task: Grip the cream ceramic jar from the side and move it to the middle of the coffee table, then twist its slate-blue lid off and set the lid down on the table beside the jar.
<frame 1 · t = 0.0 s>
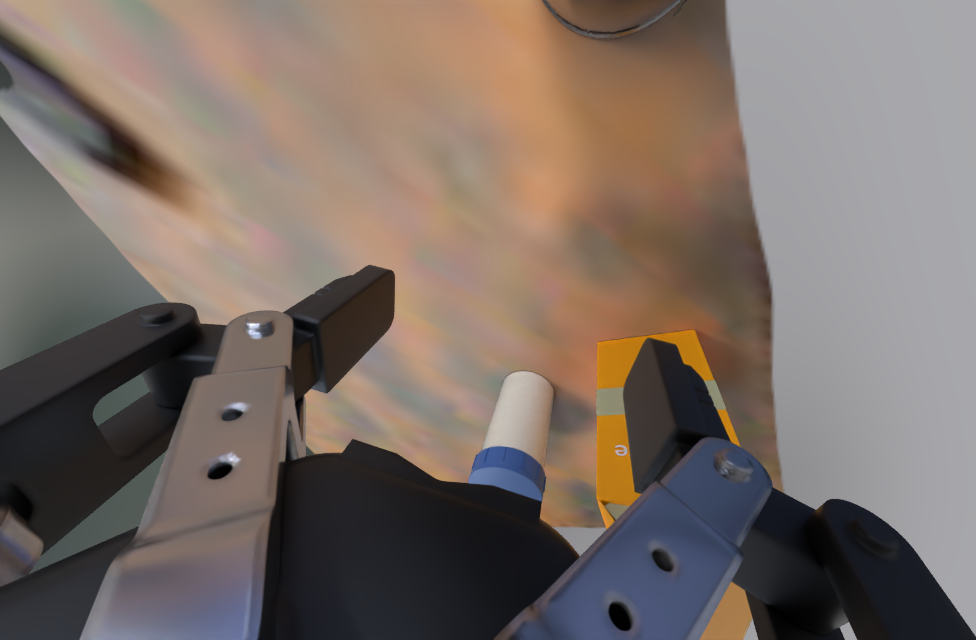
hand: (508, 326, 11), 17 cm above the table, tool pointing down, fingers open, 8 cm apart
orange juice: (650, 373, 31), on the table
jar: (527, 391, 36), on the table
lid: (505, 486, 27), point 11 cm above the table, screwed on, not yet turned
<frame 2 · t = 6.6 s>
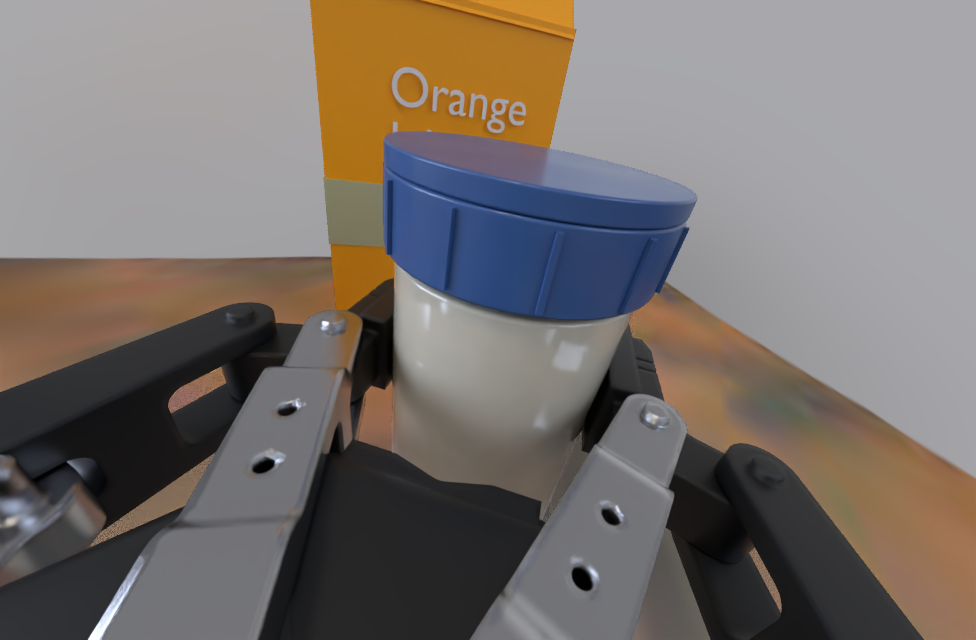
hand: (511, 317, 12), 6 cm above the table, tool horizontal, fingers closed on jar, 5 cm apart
orange juice: (420, 319, 22), on the table
jar: (467, 491, 13), on the table, touching gripper
lid: (534, 180, 7), point 11 cm above the table, screwed on, not yet turned
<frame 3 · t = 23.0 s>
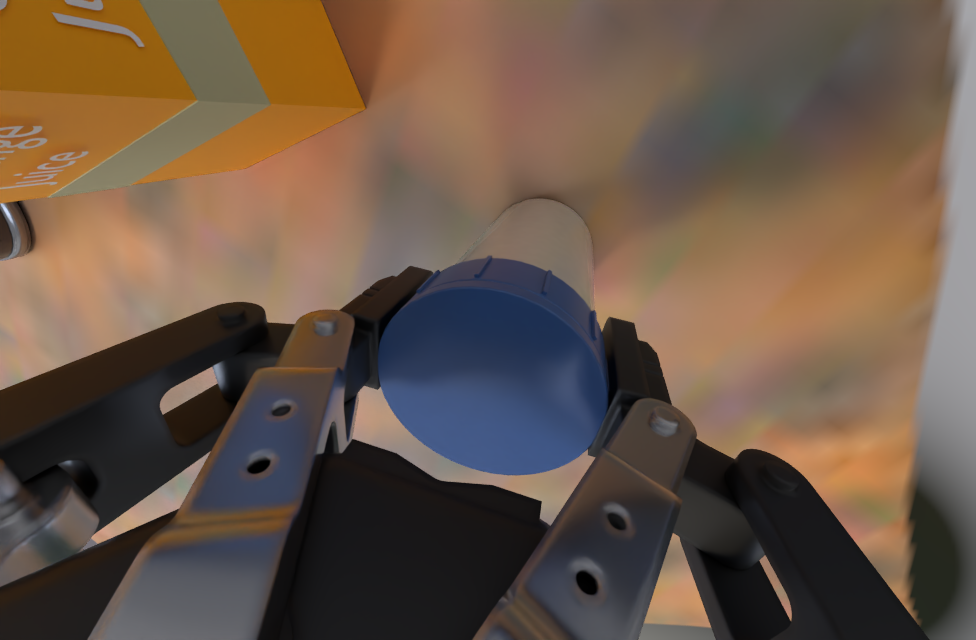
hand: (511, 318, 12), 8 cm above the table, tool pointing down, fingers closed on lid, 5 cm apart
orange juice: (261, 58, 17), on the table
jar: (538, 252, 18), on the table
lid: (488, 385, 9), point 11 cm above the table, screwed on, not yet turned, touching gripper
when the fingers open (0 cm above the table, at t = 36.9 s): lid drops 2 cm, point 1 cm above the table.
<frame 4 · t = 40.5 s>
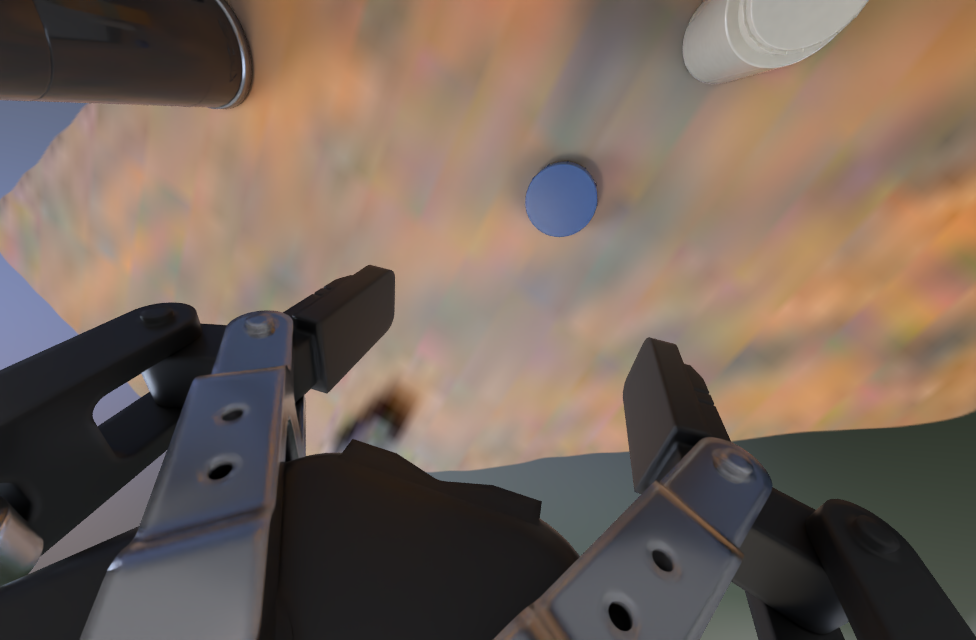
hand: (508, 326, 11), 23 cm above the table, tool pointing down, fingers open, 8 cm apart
jar: (727, 35, 23), on the table
lid: (560, 201, 29), point 1 cm above the table, off its thread
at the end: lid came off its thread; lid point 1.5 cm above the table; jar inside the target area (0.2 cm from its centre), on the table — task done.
